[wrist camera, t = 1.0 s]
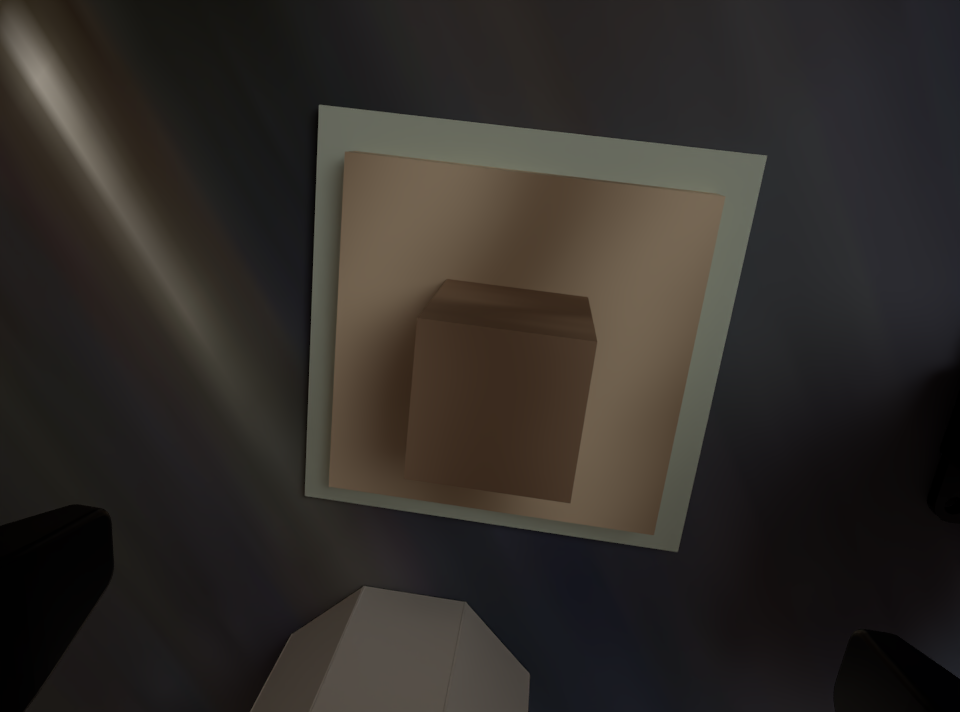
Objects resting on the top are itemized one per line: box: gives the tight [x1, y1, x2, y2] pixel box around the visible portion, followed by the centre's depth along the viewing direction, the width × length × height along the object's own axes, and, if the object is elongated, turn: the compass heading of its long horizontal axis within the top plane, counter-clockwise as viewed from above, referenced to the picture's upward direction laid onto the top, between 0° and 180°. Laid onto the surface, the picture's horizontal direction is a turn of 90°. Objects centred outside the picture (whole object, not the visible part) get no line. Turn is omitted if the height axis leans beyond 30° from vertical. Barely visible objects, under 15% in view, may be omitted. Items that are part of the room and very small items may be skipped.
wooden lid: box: [329, 151, 725, 535], centre depth 16 cm, size 9×9×5 cm
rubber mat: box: [305, 105, 767, 552], centre depth 19 cm, size 11×11×1 cm
